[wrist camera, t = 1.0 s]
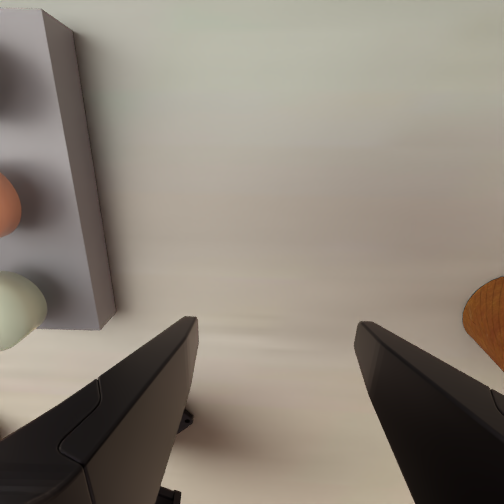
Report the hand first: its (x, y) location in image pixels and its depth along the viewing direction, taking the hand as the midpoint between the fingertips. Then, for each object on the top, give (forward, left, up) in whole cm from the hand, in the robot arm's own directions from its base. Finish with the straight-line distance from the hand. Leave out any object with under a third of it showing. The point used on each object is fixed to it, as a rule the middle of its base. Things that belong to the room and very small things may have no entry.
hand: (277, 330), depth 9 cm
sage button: (-14, +8, -8) cm, 19 cm away
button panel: (-10, +13, -12) cm, 20 cm away
